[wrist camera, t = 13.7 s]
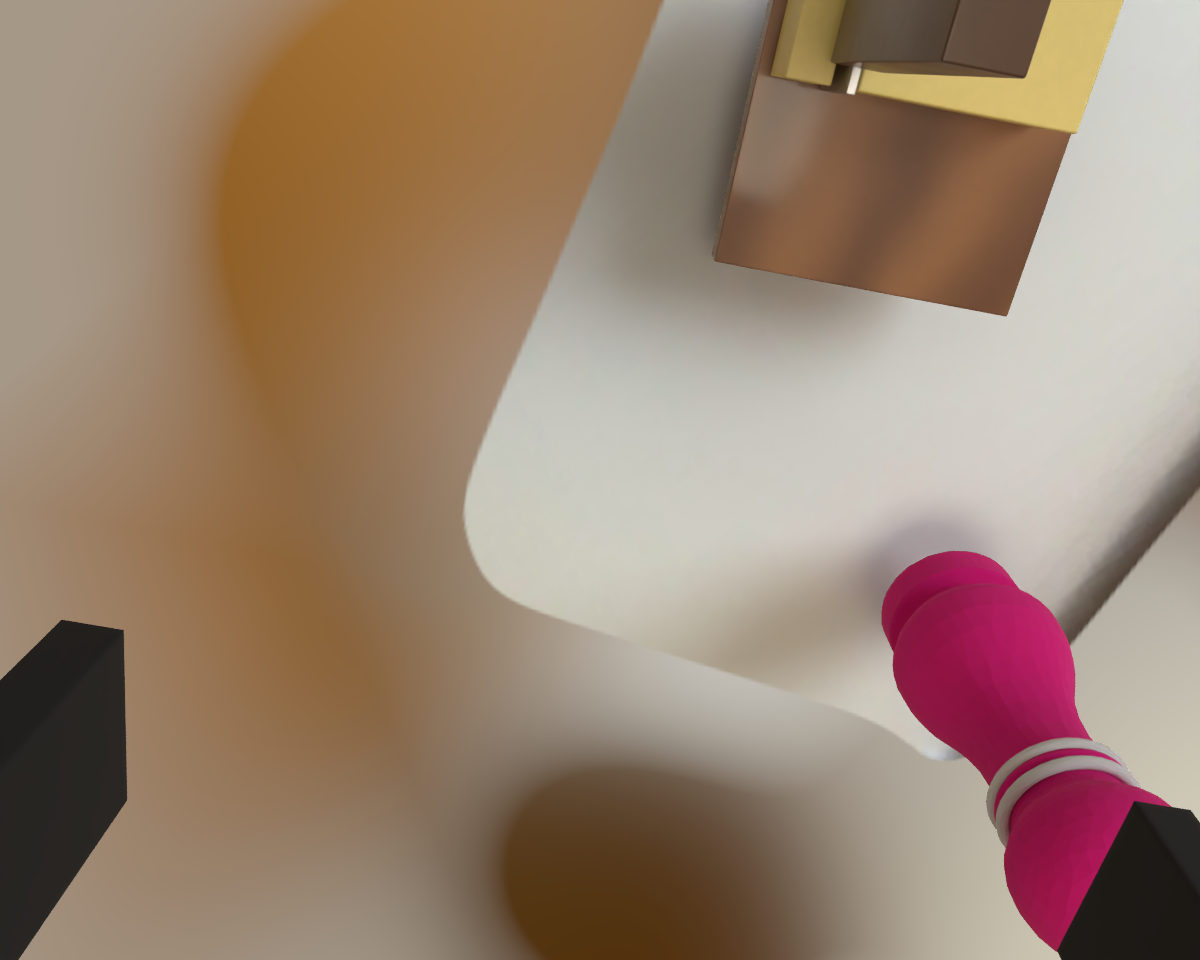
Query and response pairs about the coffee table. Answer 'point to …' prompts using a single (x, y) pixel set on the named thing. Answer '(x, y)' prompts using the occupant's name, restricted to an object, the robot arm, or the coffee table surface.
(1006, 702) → the pepper mill
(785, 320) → the coffee table surface
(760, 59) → the board
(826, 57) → the butter
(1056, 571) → the coffee table surface
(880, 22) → the knife
